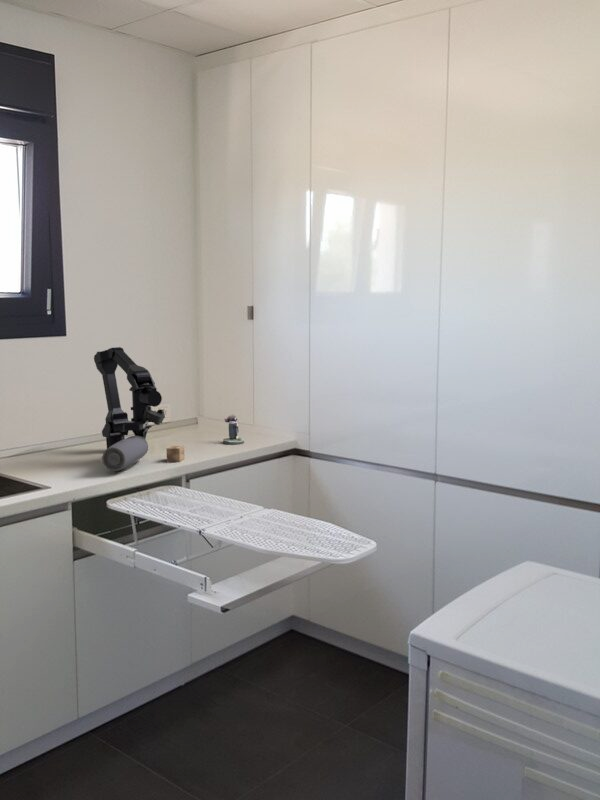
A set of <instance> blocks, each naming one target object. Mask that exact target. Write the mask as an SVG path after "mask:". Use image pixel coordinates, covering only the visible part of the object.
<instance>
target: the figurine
mask: <svg viewBox="0 0 600 800" xmlns="http://www.w3.org/2000/svg"><path fill="white" fill-rule="evenodd" d="M237 421H238V418H237V417H236V415H235V414H231V415H228V416H227V417H224V422H225V423H228V437H226V438H223V440H222V442H223V443H222V444H223V445H226V446H227V445H228V446H239V445H243V444H245V439H244V438H241V437H238V433H239V431H240V429H239V426H240V425H239V423H238V422H237Z"/></svg>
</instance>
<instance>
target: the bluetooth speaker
mask: <svg viewBox="0 0 600 800" xmlns="http://www.w3.org/2000/svg"><path fill="white" fill-rule="evenodd" d="M148 450H149V443H148V441H147V439H144V438H143V437H142V436H138V435H136V436H135V435H131V436H129V437H125V439H123V440H121V441H119V442H117V443H115V444H114V445H112V446H110V447H109V448H108V449H107V448H106V449H105V450H104V451H103V454H102V458H101V462H102V464H103V466H104V468H106V469H107V470H108V471H113V472H117V471H121V470H124V471H127V470H129V469H131V468H132V467H134V466H135V465H136V463H137V462H138V461H139V460H141V459H142V458H143V457H144V456H145V455H146V454H147V453H148Z"/></svg>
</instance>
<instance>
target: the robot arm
mask: <svg viewBox="0 0 600 800" xmlns="http://www.w3.org/2000/svg"><path fill="white" fill-rule="evenodd" d="M93 360H94V364H95V367H96V369H97V370H98V372H99V373H100V374H101V376H102V382H103V388H104V393H105V399H106V404H107V405H106V406H107V410H108V412H107V413H106V417H105V418H104V419H105V424H104V427H103V428H102V430H101V435H102V437H103V438H105V441H106V449H108V448H109V447H110V446H112V445H114V444H115V443H117V442H119V441H121V440H123V439H126V437H125V436H128V435H129V431H130V432H131V431H132V434H133V435H134V436H136V435H138V436H142V437H143V438H144V439H145V440H147V439H146V438H147V433H148V432H149V430H150V429H151V428H152V427H153V425H150V423H153V424H154V425H156V426H157V425H158V426H159V425H160V424H163V421H164V419H165V418H166V416H165V415H166V414H165V411H164V409H157V410H152V407H154V408H156V407H158V406H160V404H161V403H162V402H163V401H162V400H163V397H162V394H161V393H160V391H158V389H157V387H156V385H155V384H156V383H155V381H154V379H153V377H152V375H151V373H150V371H149V370H148V369H146V367H143V366H142V365H138V364H136V363H135V361H134V360H133V359H132V358H131V357H130V356H129V355H128V354H127V353H126V352H125V351H124V348H123V347H121V346H119V347H118V346H117V347H116V346H115V347H110V348H108V349H104V350H101V351H96V353H95V354H94V356H93ZM118 366H119V367H120V369H121V370H123V371H124V373H125V375H126V380H127V382H128V383H129V385H130V386H131V387H130V388H129V392H131V397H132V399H131V400H132V403H131V404H132V406H131V407H130V411H132V418H131V417H130V420H129V415H128V413H127V412H126V411H124V410H123V409H122V406H121V400H120V394H119V388H118V383H117V377H116V371H117V368H118Z"/></svg>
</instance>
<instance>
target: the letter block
mask: <svg viewBox="0 0 600 800" xmlns="http://www.w3.org/2000/svg"><path fill="white" fill-rule="evenodd" d="M165 449H166V463H167V462H168V463H181V462H183V461H185V460H186V459H185V455H186V454H185V446H184V445H183V446H182V445H171V446H169V447H166V448H165Z"/></svg>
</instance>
